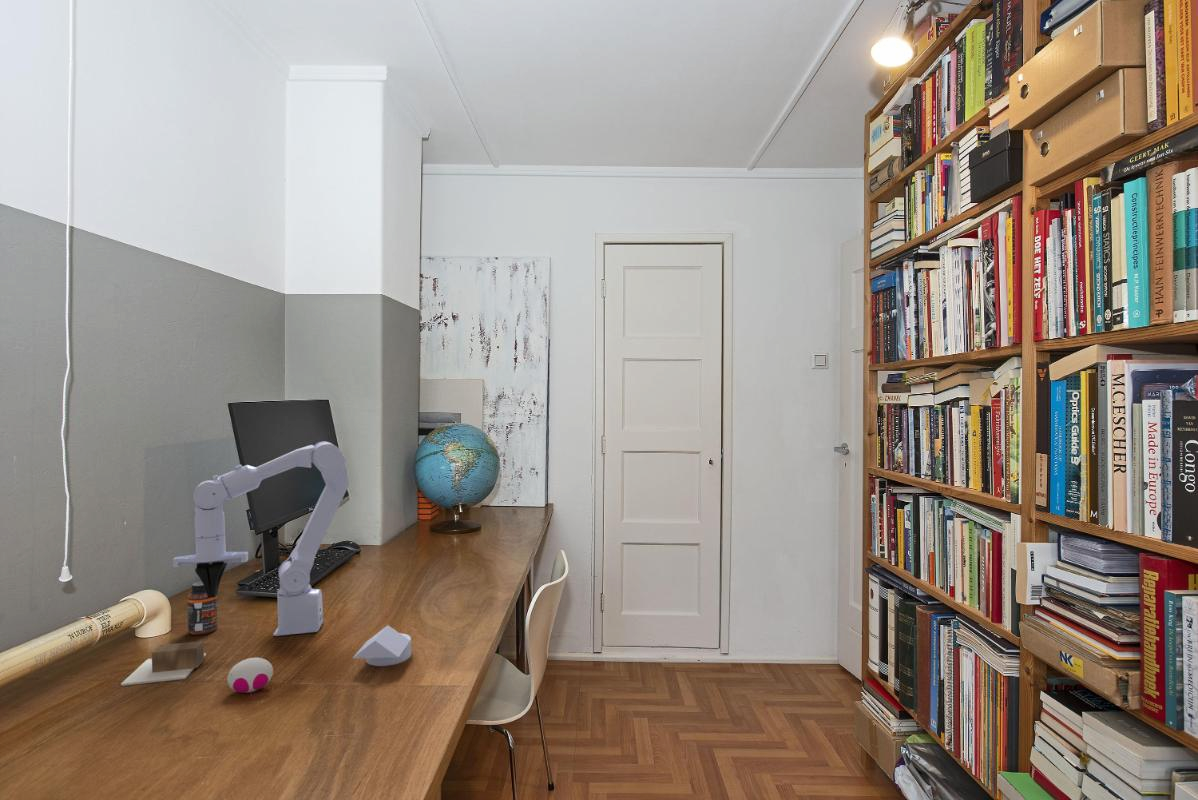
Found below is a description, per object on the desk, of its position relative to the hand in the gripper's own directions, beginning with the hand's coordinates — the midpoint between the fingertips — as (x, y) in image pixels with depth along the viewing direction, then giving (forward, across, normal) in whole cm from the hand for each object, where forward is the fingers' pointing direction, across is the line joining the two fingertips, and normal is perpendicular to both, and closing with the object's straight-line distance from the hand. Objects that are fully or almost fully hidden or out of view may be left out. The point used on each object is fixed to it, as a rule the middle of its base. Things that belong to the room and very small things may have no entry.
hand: (212, 596), depth 149 cm
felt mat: (+10, +5, +13) cm, 17 cm away
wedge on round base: (+11, -38, +21) cm, 45 cm away
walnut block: (+8, -1, +13) cm, 15 cm away
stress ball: (+11, -15, +29) cm, 34 cm away
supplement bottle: (+11, +5, -9) cm, 15 cm away
